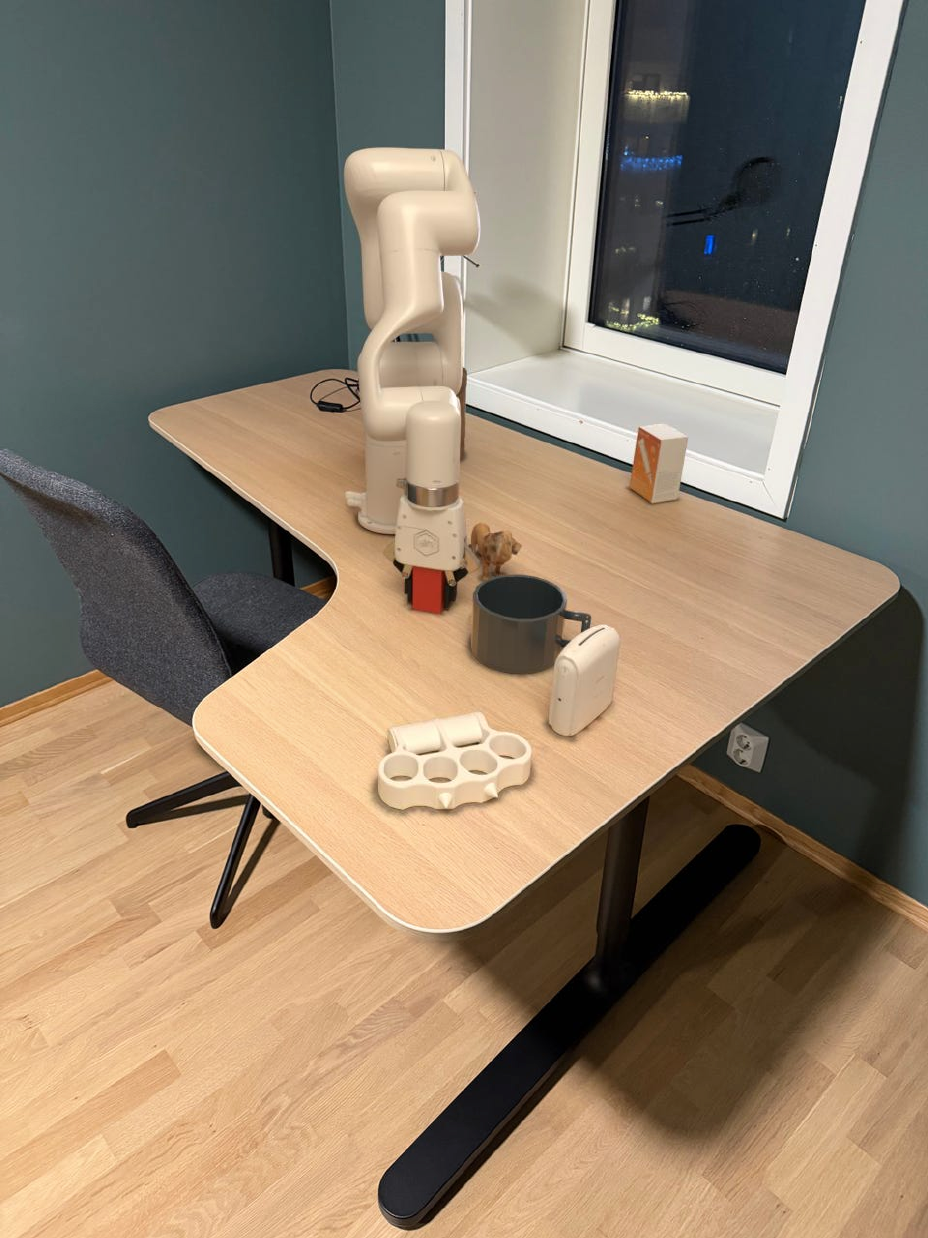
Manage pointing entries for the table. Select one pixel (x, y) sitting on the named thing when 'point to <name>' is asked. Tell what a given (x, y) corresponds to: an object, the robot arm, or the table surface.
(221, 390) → the table surface
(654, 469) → the small box
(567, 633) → the table surface
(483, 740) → the knuckle duster
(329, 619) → the table surface
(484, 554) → the lion figurine
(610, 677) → the photo printer
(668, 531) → the table surface
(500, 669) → the dark gray mug
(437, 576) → the red block
